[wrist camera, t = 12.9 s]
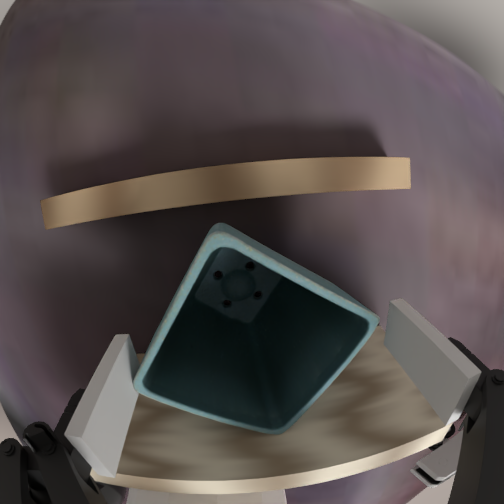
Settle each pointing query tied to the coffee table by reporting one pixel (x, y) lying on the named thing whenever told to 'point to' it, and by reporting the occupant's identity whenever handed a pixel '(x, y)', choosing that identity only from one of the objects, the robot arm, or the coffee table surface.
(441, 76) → the coffee table surface
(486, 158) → the coffee table surface
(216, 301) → the flower pot
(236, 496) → the container
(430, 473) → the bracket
